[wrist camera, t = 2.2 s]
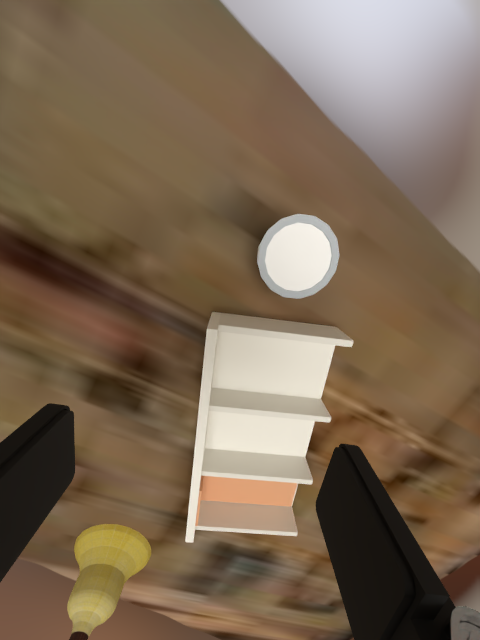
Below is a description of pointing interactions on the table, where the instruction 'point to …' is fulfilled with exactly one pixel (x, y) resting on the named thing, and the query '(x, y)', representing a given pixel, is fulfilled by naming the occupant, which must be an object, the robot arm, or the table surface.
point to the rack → (257, 421)
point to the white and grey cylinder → (298, 256)
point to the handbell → (103, 573)
